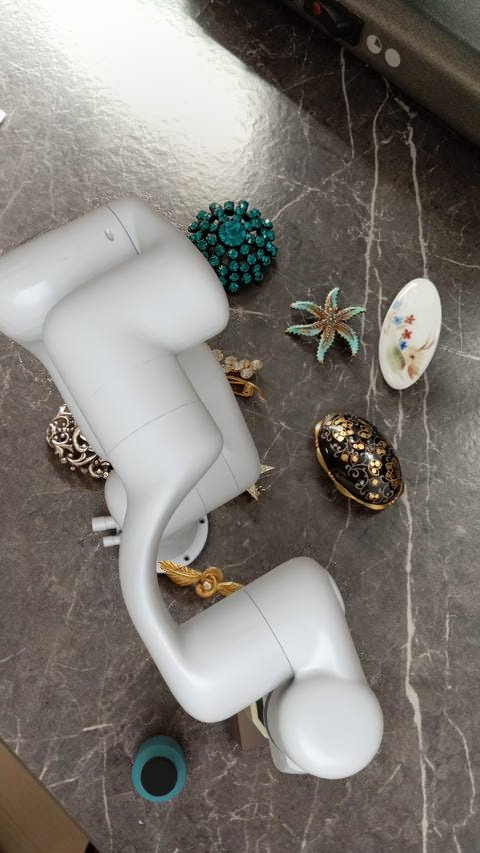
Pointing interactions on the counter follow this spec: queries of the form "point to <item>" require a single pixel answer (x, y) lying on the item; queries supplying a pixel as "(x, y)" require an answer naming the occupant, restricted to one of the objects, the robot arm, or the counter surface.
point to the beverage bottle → (159, 769)
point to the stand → (246, 732)
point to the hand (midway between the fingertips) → (285, 705)
